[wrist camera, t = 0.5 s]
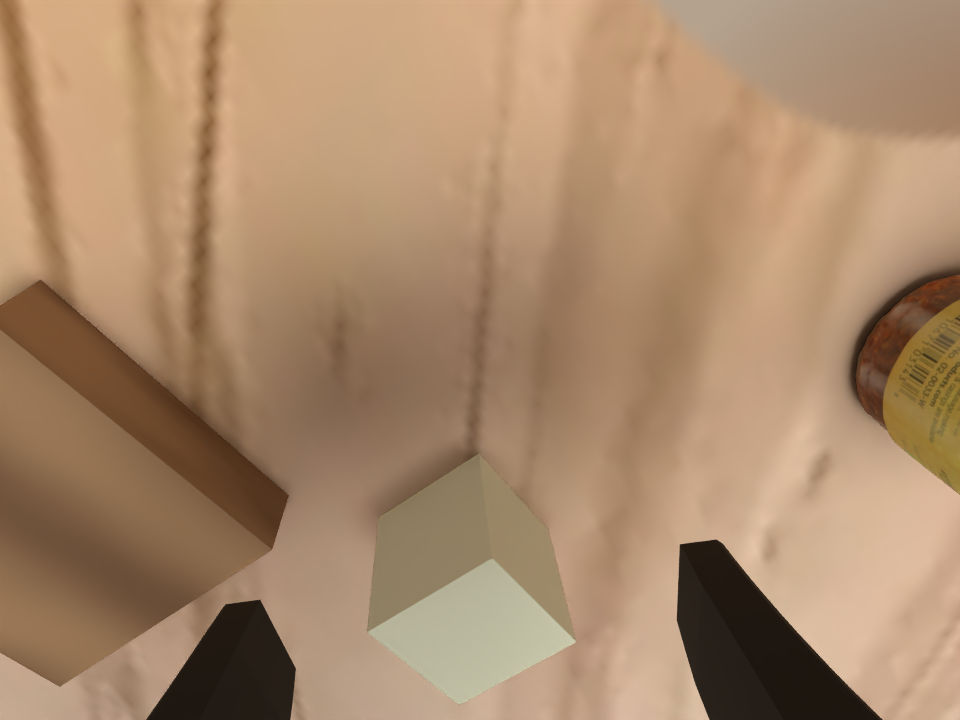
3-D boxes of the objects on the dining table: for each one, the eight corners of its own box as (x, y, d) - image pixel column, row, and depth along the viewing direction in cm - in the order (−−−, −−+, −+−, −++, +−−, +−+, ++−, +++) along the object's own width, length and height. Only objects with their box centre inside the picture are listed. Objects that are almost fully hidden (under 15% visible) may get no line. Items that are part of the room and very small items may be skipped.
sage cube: (452, 584, 25) (459, 705, 20) (378, 516, 23) (367, 632, 18) (548, 528, 24) (576, 641, 19) (478, 452, 22) (492, 557, 17)
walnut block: (99, 616, 25) (59, 686, 22) (-155, 451, 20) (-243, 513, 18) (290, 488, 22) (271, 549, 20) (48, 275, 18) (-17, 316, 16)
